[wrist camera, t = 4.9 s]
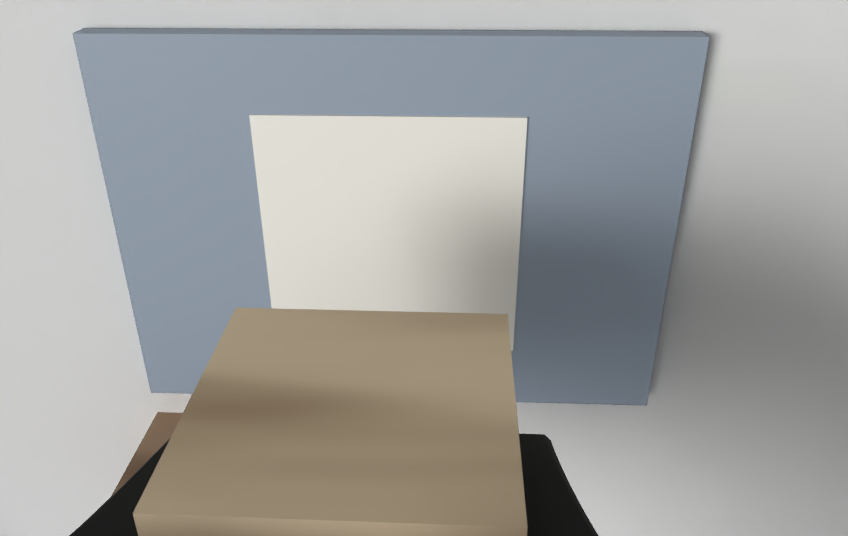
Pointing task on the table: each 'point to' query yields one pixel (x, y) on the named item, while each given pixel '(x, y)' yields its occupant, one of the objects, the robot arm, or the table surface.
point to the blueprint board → (400, 185)
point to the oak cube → (346, 430)
